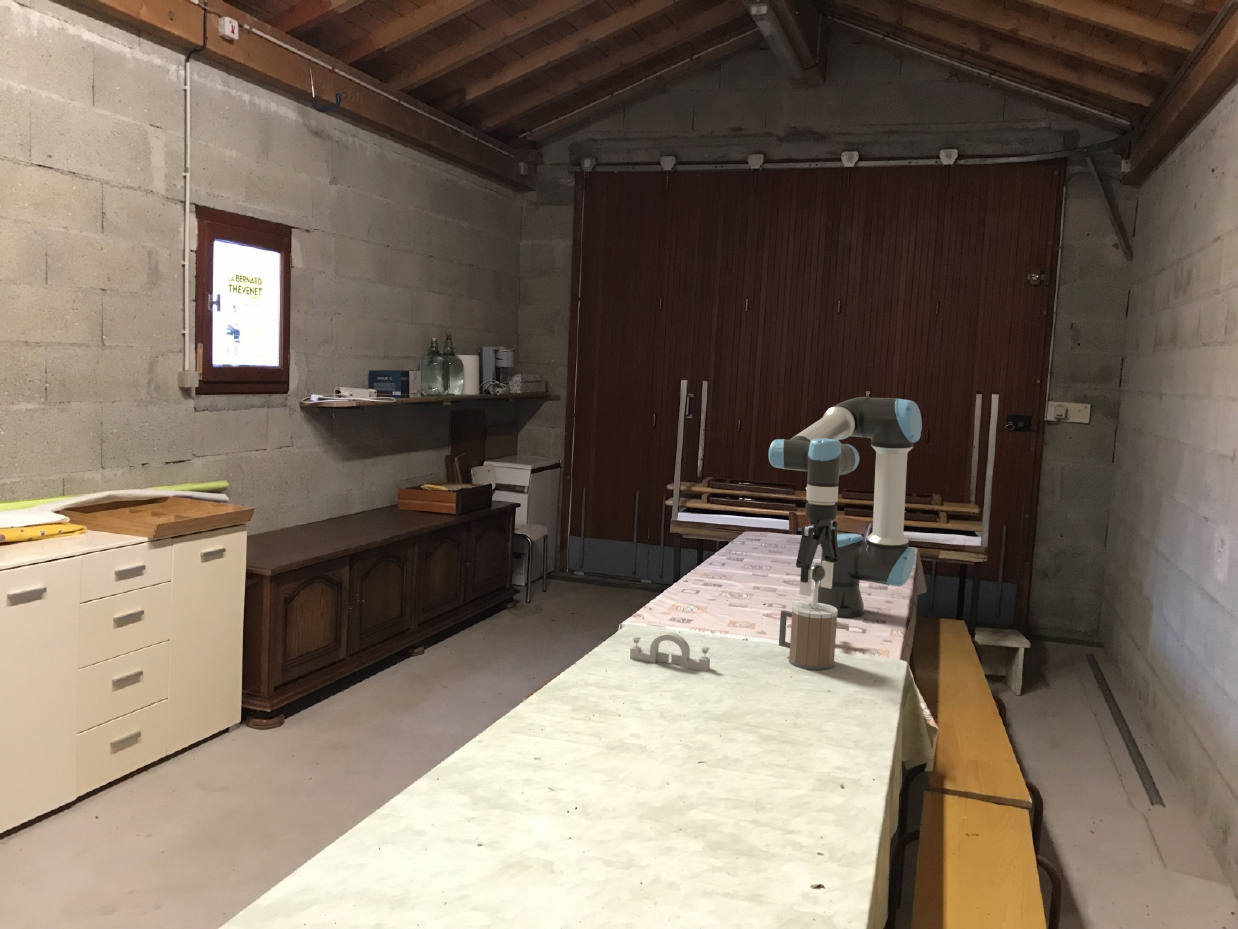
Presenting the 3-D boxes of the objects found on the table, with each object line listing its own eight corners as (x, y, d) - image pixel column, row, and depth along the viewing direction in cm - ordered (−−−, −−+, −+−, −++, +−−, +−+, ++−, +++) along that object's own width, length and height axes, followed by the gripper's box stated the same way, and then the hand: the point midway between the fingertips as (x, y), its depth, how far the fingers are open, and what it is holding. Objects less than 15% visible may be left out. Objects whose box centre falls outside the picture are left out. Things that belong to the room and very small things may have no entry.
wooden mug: (790, 649, 247) (793, 597, 245) (841, 663, 238) (845, 608, 236) (768, 659, 239) (771, 604, 237) (820, 673, 230) (824, 617, 228)
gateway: (709, 670, 231) (711, 638, 230) (706, 673, 228) (708, 640, 228) (633, 658, 238) (634, 626, 237) (629, 660, 235) (631, 629, 234)
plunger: (805, 644, 242) (810, 559, 240) (834, 651, 237) (839, 565, 235) (789, 651, 236) (795, 564, 234) (818, 658, 231) (824, 570, 229)
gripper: (829, 495, 243) (823, 580, 246) (784, 505, 226) (779, 596, 229) (856, 499, 239) (850, 586, 241) (812, 509, 221) (807, 602, 224)
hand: (815, 591), depth 235 cm, fingers open, 10 cm apart
